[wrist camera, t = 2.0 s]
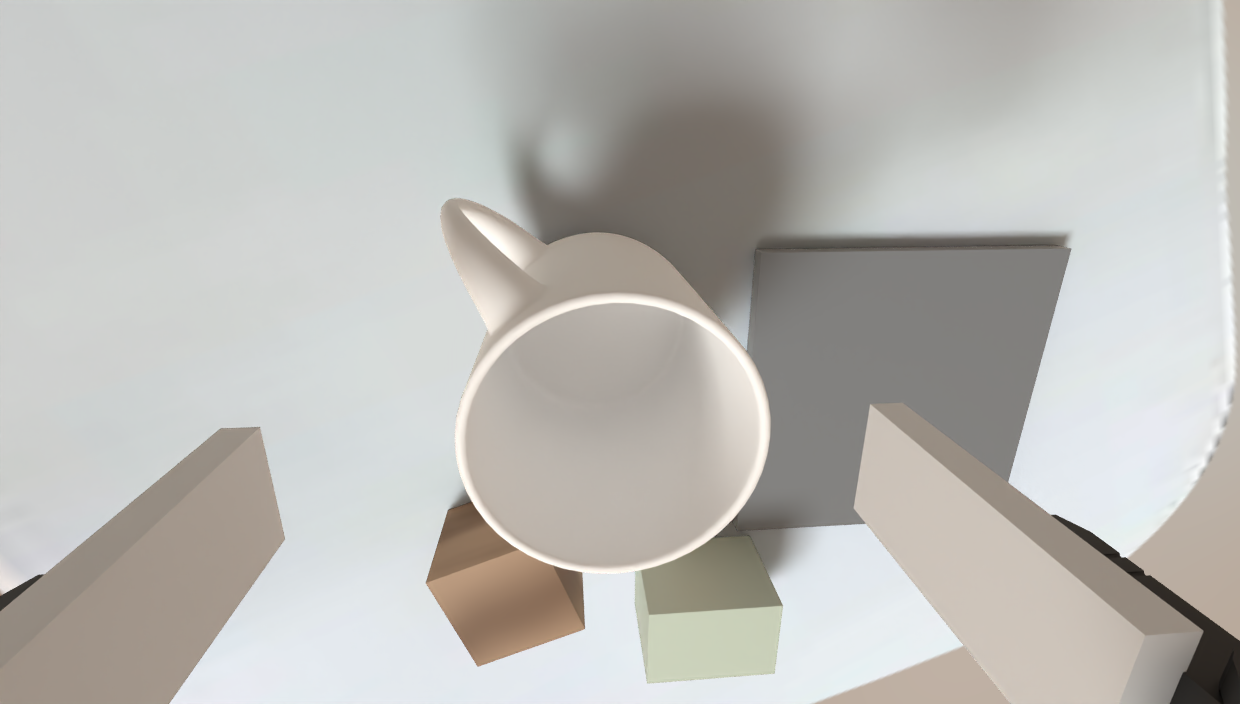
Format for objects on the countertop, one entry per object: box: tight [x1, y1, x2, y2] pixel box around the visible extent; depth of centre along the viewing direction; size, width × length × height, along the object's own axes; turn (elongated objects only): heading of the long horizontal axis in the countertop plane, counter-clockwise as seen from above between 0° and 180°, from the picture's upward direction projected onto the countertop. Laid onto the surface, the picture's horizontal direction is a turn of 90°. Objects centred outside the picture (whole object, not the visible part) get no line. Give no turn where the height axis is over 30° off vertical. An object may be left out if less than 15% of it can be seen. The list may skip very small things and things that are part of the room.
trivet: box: [733, 245, 1071, 531], centre depth 28 cm, size 14×14×1 cm
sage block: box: [635, 536, 783, 684], centre depth 29 cm, size 4×6×5 cm, turn 90°
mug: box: [440, 198, 771, 574], centre depth 20 cm, size 9×12×11 cm
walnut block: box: [426, 502, 585, 666], centre depth 27 cm, size 5×5×5 cm
